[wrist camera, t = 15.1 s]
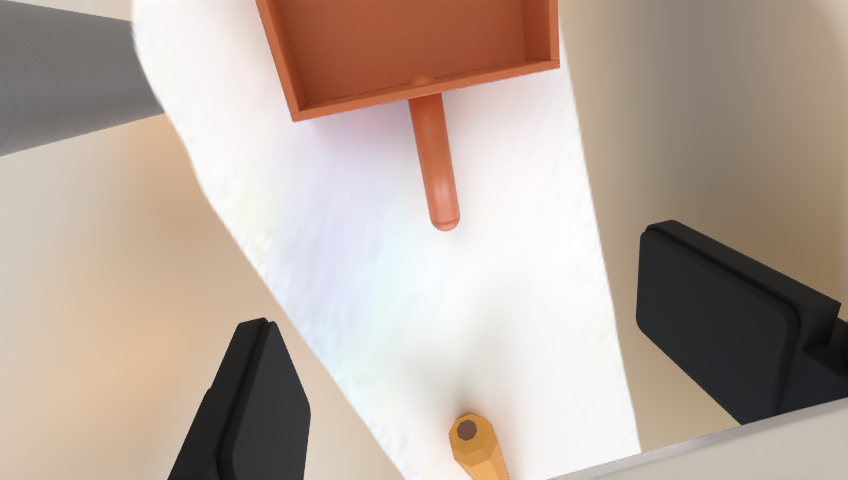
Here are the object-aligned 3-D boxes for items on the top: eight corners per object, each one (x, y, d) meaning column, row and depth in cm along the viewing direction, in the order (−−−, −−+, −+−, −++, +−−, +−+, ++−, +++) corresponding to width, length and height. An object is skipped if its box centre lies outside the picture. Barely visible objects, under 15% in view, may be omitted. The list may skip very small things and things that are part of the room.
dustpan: (230, -139, 21) (198, -186, 17) (514, -188, 22) (549, -244, 18) (340, 239, 30) (337, 267, 26) (539, 195, 30) (565, 216, 26)
